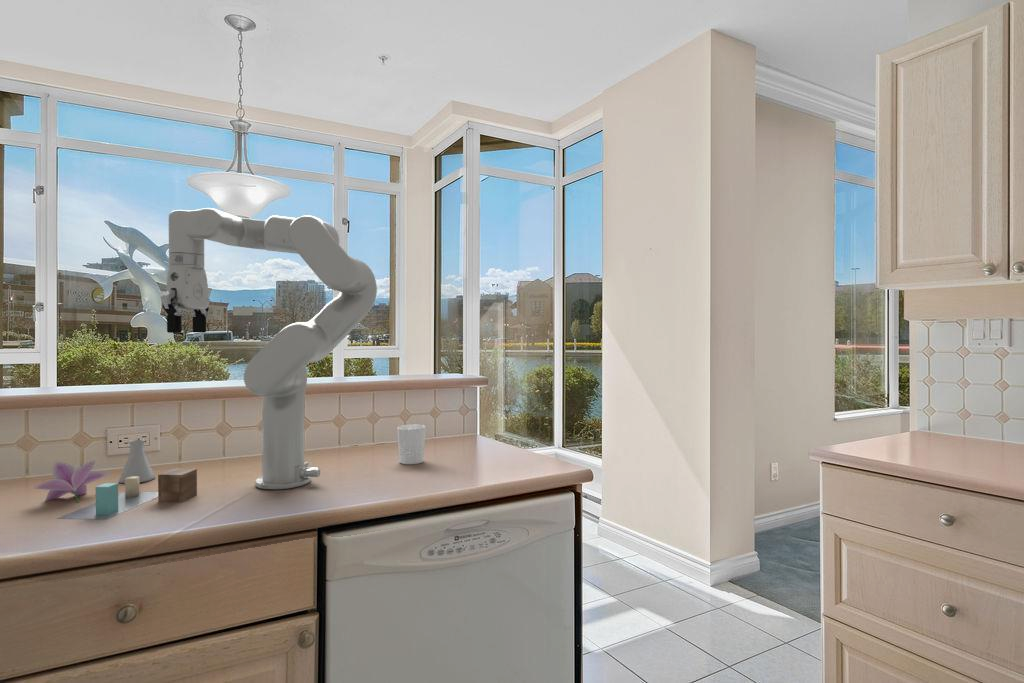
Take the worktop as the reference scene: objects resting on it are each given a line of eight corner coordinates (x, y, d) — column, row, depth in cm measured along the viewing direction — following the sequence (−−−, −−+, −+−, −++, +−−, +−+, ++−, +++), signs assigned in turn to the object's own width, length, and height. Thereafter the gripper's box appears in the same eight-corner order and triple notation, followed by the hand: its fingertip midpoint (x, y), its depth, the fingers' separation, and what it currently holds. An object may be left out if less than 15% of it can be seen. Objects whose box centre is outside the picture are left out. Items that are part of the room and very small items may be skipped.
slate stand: (167, 495, 126) (167, 474, 126) (106, 523, 108) (106, 498, 108) (125, 495, 127) (124, 473, 127) (56, 522, 109) (56, 497, 109)
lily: (119, 499, 127) (107, 460, 129) (102, 492, 117) (89, 450, 119) (56, 523, 122) (44, 482, 124) (32, 518, 112) (20, 473, 114)
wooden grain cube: (197, 498, 125) (196, 468, 124) (182, 505, 119) (181, 474, 119) (174, 498, 125) (173, 468, 125) (158, 505, 120) (158, 474, 120)
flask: (137, 485, 135) (136, 444, 135) (111, 483, 136) (111, 442, 136) (161, 477, 142) (161, 438, 142) (137, 476, 143) (137, 437, 143)
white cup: (431, 460, 161) (431, 426, 161) (412, 466, 155) (412, 430, 154) (410, 457, 165) (410, 423, 165) (391, 462, 159) (391, 427, 159)
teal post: (118, 510, 114) (118, 483, 114) (108, 514, 111) (108, 486, 111) (105, 510, 114) (105, 483, 114) (95, 514, 111) (95, 486, 111)
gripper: (178, 257, 128) (179, 332, 129) (221, 266, 146) (222, 332, 146) (147, 257, 129) (147, 332, 129) (193, 266, 146) (194, 332, 146)
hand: (187, 332), depth 138 cm, fingers open, 9 cm apart
